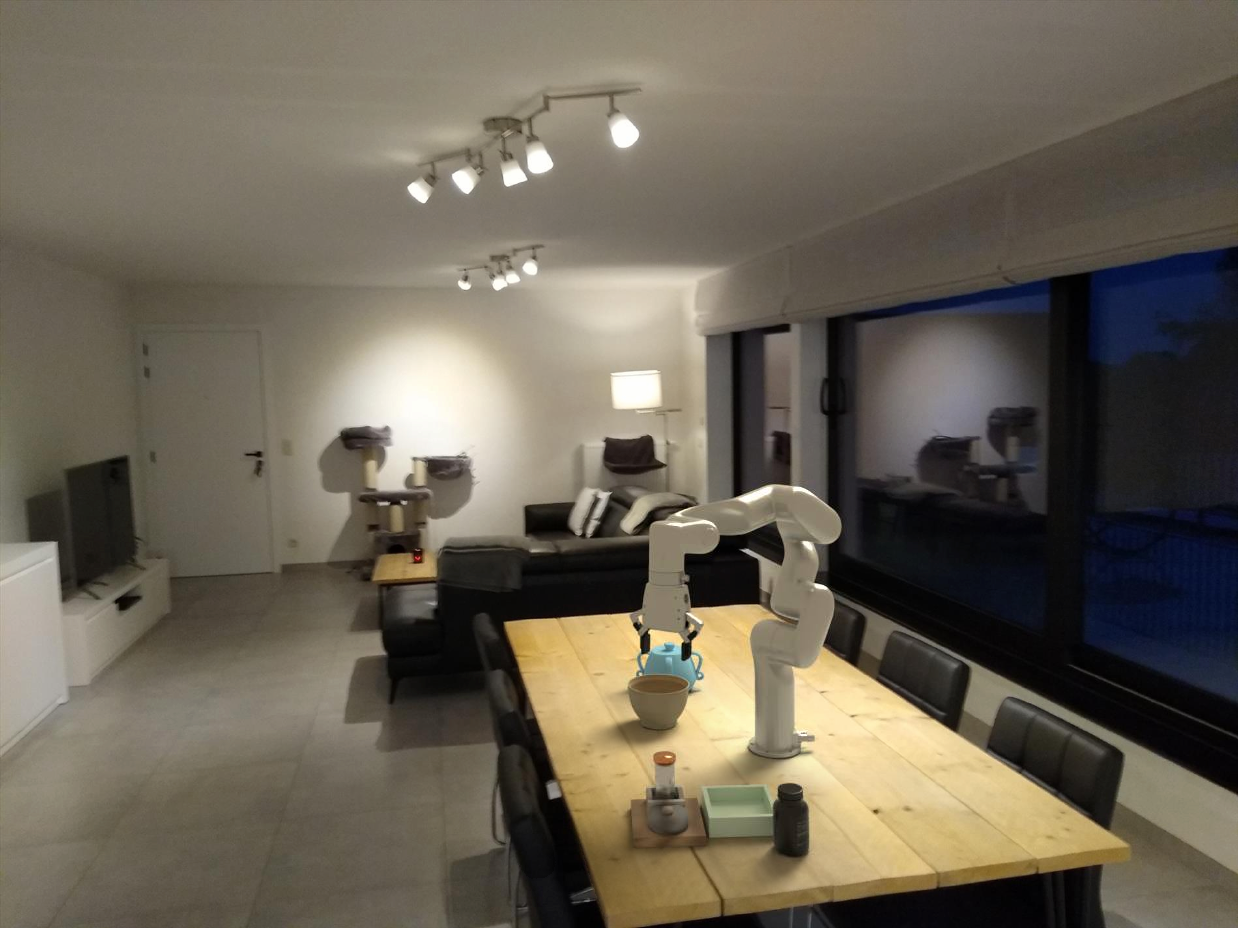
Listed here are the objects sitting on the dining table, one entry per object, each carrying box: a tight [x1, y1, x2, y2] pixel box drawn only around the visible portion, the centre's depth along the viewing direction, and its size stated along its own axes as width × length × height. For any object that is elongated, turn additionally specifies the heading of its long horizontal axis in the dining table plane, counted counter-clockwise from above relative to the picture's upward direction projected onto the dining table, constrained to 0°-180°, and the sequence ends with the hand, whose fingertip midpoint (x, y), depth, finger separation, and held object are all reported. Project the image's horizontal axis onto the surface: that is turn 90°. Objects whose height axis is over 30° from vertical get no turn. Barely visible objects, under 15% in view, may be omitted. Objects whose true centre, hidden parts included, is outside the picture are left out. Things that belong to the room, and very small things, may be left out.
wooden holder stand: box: [630, 784, 707, 849], centre depth 180 cm, size 14×16×6 cm
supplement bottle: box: [772, 782, 810, 858], centre depth 171 cm, size 7×7×12 cm
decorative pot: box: [635, 641, 705, 691], centre depth 262 cm, size 16×16×14 cm
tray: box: [700, 783, 775, 839], centre depth 183 cm, size 14×14×4 cm
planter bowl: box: [627, 674, 690, 730], centre depth 235 cm, size 16×16×11 cm
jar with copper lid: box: [652, 750, 677, 800], centre depth 184 cm, size 5×5×11 cm
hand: (665, 656), depth 195 cm, fingers open, 9 cm apart
